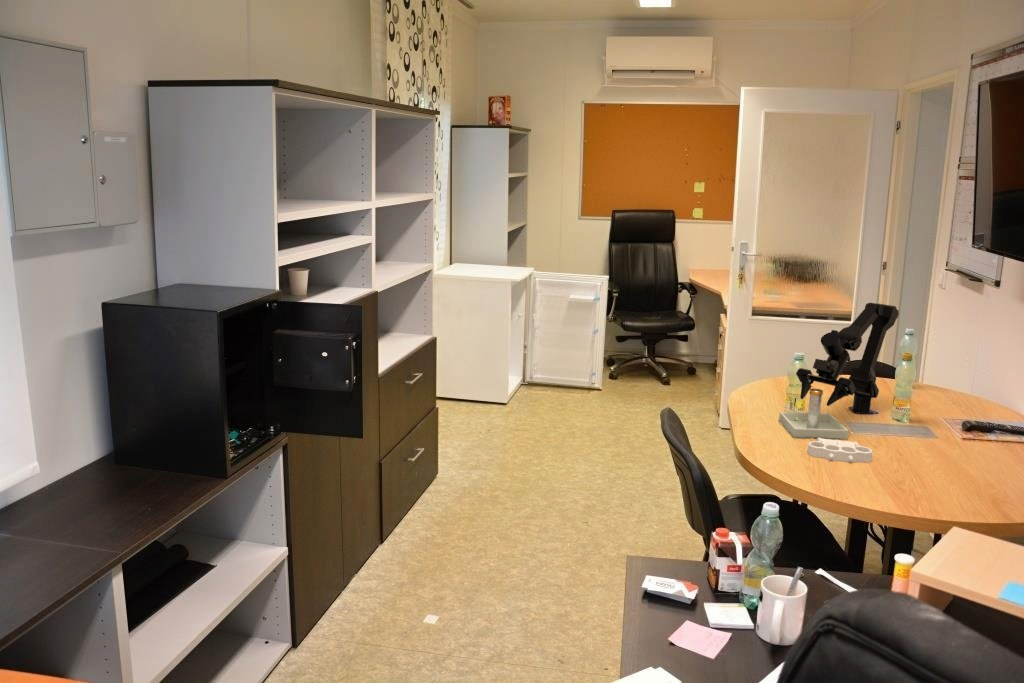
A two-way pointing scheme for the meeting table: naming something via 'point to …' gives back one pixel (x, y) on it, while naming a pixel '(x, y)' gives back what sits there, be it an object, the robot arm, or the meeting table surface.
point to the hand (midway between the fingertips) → (814, 402)
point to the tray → (826, 429)
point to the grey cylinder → (814, 408)
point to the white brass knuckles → (839, 450)
